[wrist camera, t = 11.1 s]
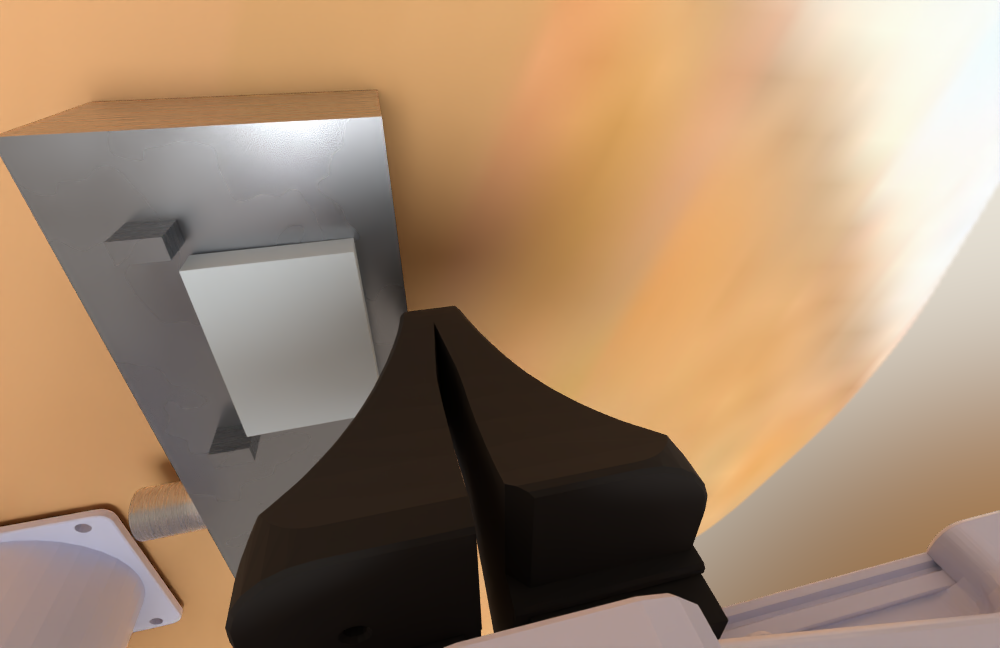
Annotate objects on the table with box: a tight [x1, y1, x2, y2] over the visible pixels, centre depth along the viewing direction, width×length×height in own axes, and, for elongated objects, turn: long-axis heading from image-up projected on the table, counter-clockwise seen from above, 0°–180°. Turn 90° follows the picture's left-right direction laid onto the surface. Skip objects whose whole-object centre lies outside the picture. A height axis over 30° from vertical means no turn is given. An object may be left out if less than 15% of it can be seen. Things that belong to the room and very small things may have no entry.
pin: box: [129, 481, 207, 541], centre depth 18 cm, size 11×3×3 cm, turn 91°
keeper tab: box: [179, 238, 379, 437], centre depth 12 cm, size 1×5×4 cm
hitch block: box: [0, 90, 408, 578], centre depth 16 cm, size 7×18×5 cm, turn 1°
